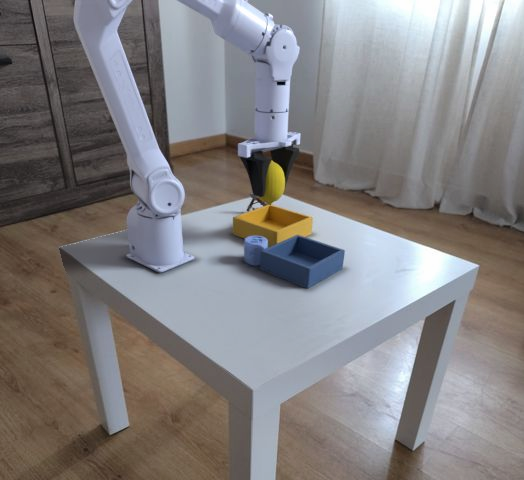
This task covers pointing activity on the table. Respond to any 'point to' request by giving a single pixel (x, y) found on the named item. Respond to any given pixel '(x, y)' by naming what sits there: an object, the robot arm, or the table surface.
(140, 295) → the table surface
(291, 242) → the blue bin
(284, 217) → the yellow bin
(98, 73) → the robot arm
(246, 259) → the light blue short cylinder
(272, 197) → the lemon
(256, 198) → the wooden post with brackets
